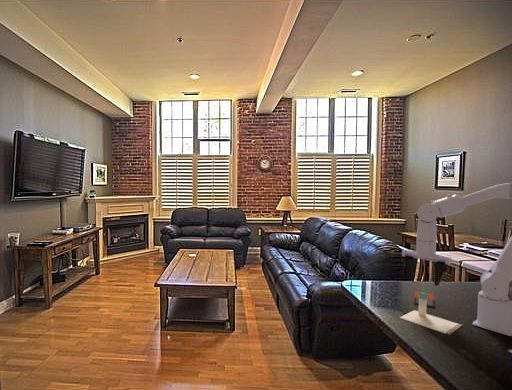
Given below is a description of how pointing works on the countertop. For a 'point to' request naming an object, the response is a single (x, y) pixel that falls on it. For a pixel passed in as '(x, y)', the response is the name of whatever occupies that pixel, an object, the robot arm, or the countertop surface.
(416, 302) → the phone
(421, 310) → the marker
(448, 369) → the countertop surface
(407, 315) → the notepad
